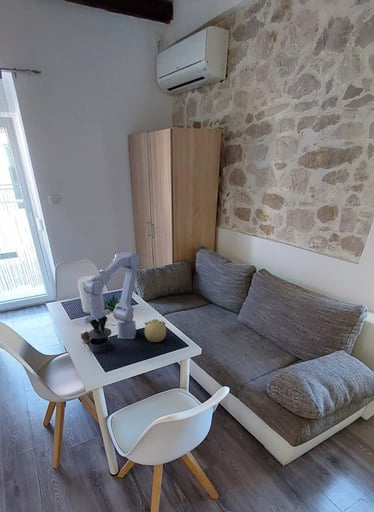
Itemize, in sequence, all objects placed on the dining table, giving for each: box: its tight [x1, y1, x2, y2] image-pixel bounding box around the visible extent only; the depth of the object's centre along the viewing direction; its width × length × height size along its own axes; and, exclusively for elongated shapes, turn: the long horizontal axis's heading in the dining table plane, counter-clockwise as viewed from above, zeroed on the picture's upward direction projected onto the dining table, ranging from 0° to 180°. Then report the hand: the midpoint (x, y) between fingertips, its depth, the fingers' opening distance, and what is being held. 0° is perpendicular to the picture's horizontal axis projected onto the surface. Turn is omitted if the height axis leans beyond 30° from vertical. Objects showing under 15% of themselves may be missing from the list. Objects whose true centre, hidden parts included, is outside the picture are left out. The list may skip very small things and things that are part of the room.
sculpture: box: [144, 318, 167, 343], centre depth 165 cm, size 12×12×11 cm
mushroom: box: [80, 330, 91, 344], centre depth 162 cm, size 5×5×6 cm
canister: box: [76, 274, 106, 314], centre depth 194 cm, size 14×14×20 cm
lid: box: [88, 324, 112, 339], centre depth 152 cm, size 11×11×5 cm
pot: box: [88, 336, 112, 354], centre depth 158 cm, size 10×10×5 cm
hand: (100, 331), depth 153 cm, fingers closed on lid, 2 cm apart
